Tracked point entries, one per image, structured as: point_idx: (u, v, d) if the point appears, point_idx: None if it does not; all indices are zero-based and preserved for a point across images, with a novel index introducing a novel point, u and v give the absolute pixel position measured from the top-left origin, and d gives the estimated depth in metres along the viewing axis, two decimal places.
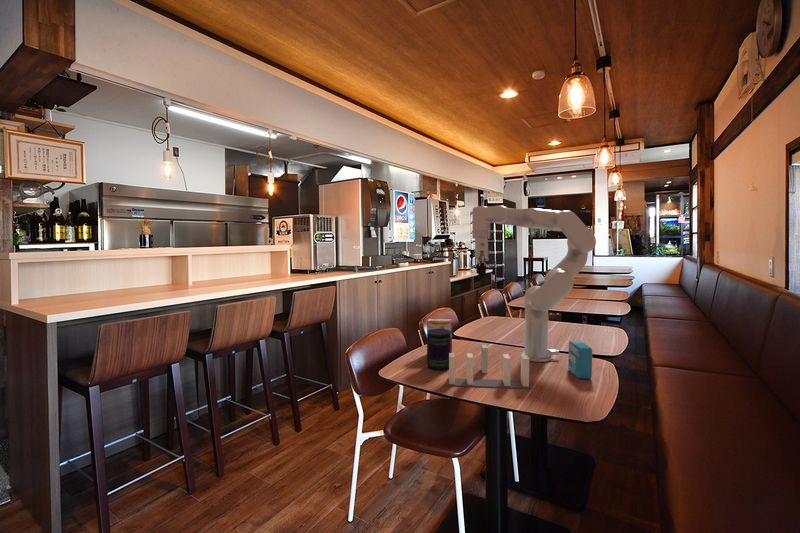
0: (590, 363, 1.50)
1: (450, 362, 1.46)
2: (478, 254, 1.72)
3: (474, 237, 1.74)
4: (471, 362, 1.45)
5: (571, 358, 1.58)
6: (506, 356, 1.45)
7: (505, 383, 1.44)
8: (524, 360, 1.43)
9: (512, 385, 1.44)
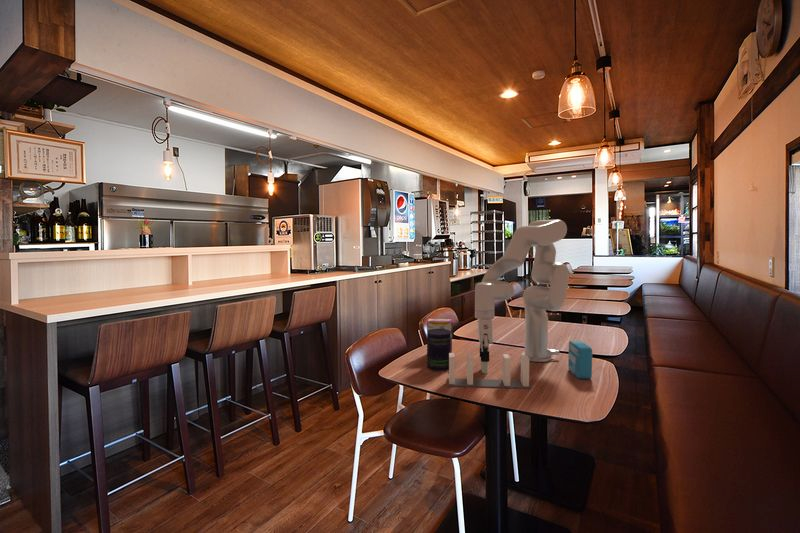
0: (590, 363, 1.50)
1: (450, 362, 1.46)
2: (481, 340, 1.56)
3: (477, 317, 1.58)
4: (471, 362, 1.45)
5: (571, 358, 1.58)
6: (506, 356, 1.45)
7: (505, 383, 1.44)
8: (524, 360, 1.43)
9: (512, 385, 1.44)
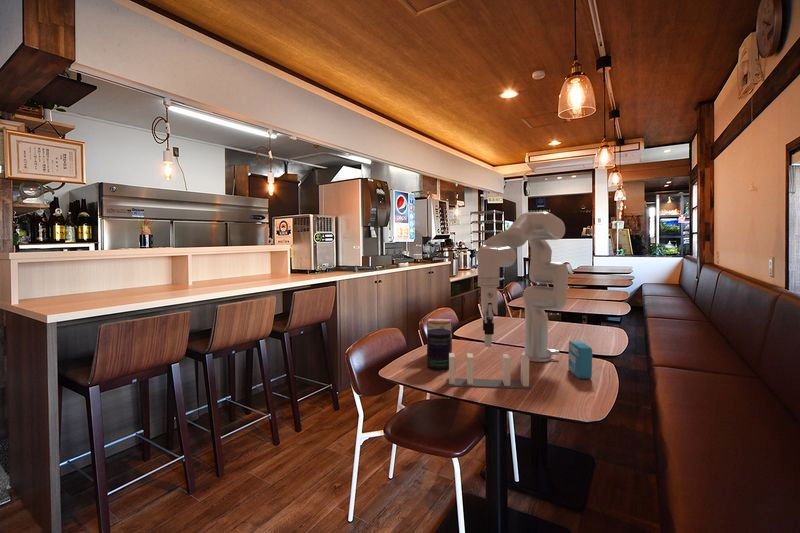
0: (590, 363, 1.50)
1: (450, 362, 1.46)
2: (485, 310, 1.41)
3: (480, 285, 1.43)
4: (471, 362, 1.45)
5: (571, 358, 1.58)
6: (506, 356, 1.45)
7: (505, 383, 1.44)
8: (524, 360, 1.43)
9: (512, 385, 1.44)
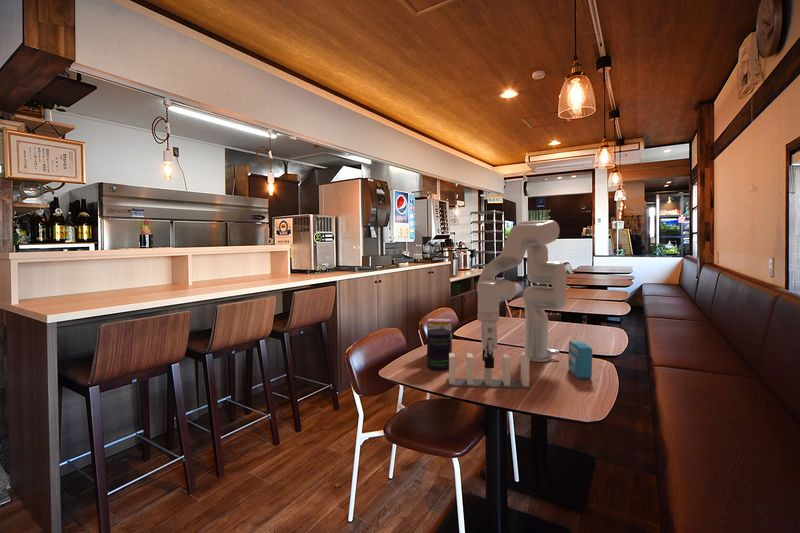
0: (590, 363, 1.50)
1: (450, 362, 1.46)
2: (485, 343, 1.41)
3: (480, 319, 1.44)
4: (471, 362, 1.45)
5: (571, 358, 1.58)
6: (506, 356, 1.45)
7: (505, 383, 1.44)
8: (524, 360, 1.43)
9: (512, 385, 1.44)
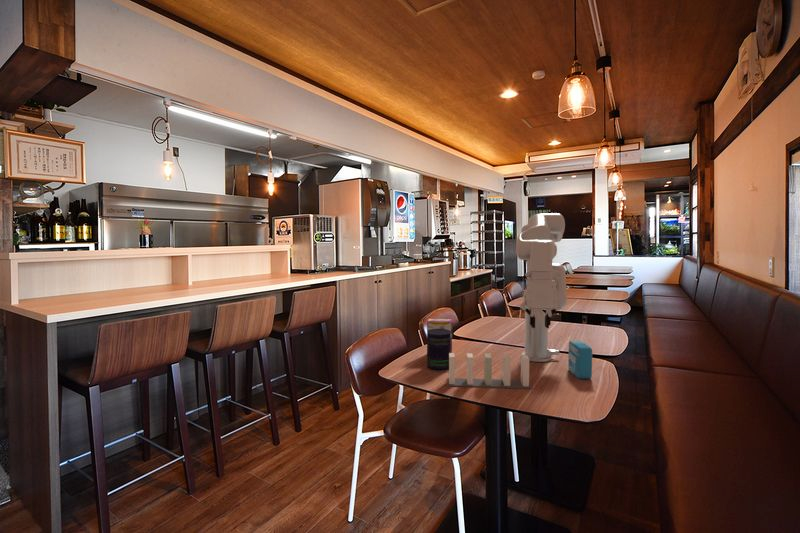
0: (590, 363, 1.50)
1: (450, 362, 1.46)
2: None
3: None
4: (471, 362, 1.45)
5: (571, 358, 1.58)
6: (506, 356, 1.45)
7: (505, 383, 1.44)
8: (524, 360, 1.43)
9: (512, 385, 1.44)
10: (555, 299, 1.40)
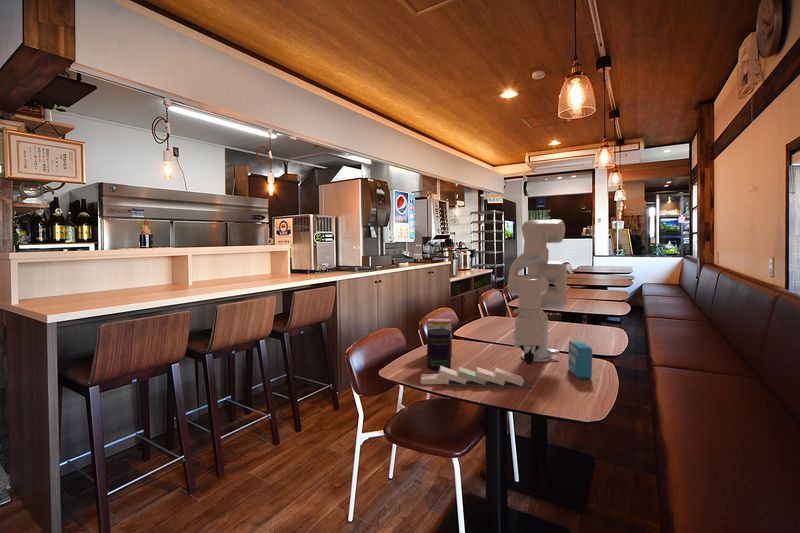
0: (590, 363, 1.50)
1: (426, 383, 1.47)
2: None
3: None
4: (444, 373, 1.46)
5: (571, 358, 1.58)
6: (476, 372, 1.47)
7: (501, 383, 1.44)
8: (496, 376, 1.44)
9: (512, 385, 1.44)
10: (543, 336, 1.41)
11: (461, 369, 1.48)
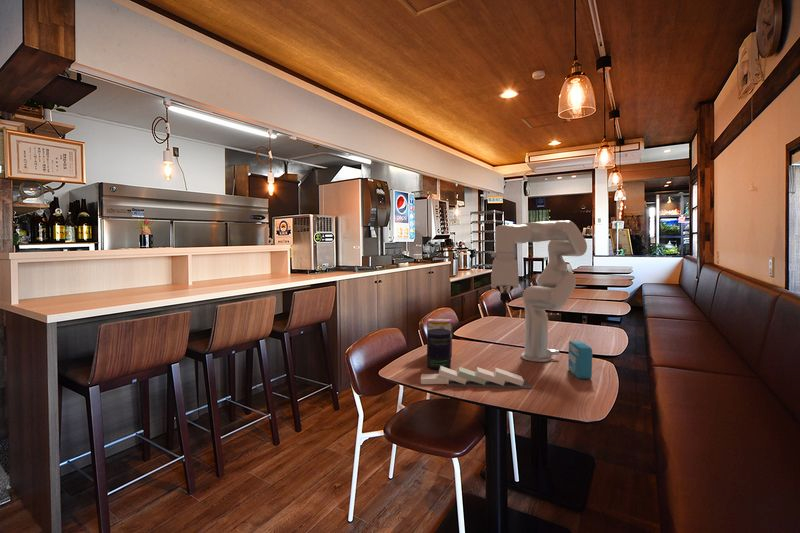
0: (590, 363, 1.50)
1: (426, 382, 1.47)
2: None
3: None
4: (444, 373, 1.46)
5: (571, 358, 1.58)
6: (476, 372, 1.47)
7: (501, 383, 1.44)
8: (496, 376, 1.44)
9: (512, 385, 1.44)
10: (517, 277, 1.57)
11: (461, 369, 1.48)
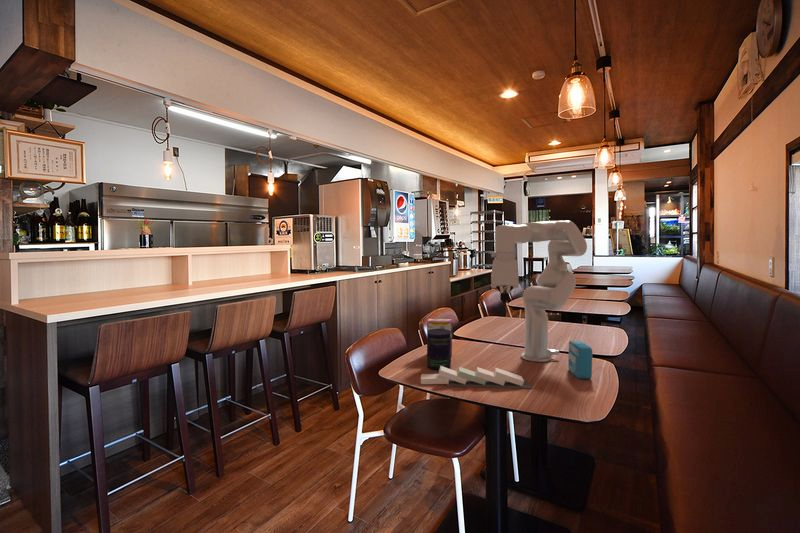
0: (590, 363, 1.50)
1: (426, 382, 1.47)
2: None
3: None
4: (444, 373, 1.46)
5: (571, 358, 1.58)
6: (476, 372, 1.47)
7: (501, 383, 1.44)
8: (496, 376, 1.44)
9: (512, 385, 1.44)
10: (517, 277, 1.57)
11: (461, 369, 1.48)
